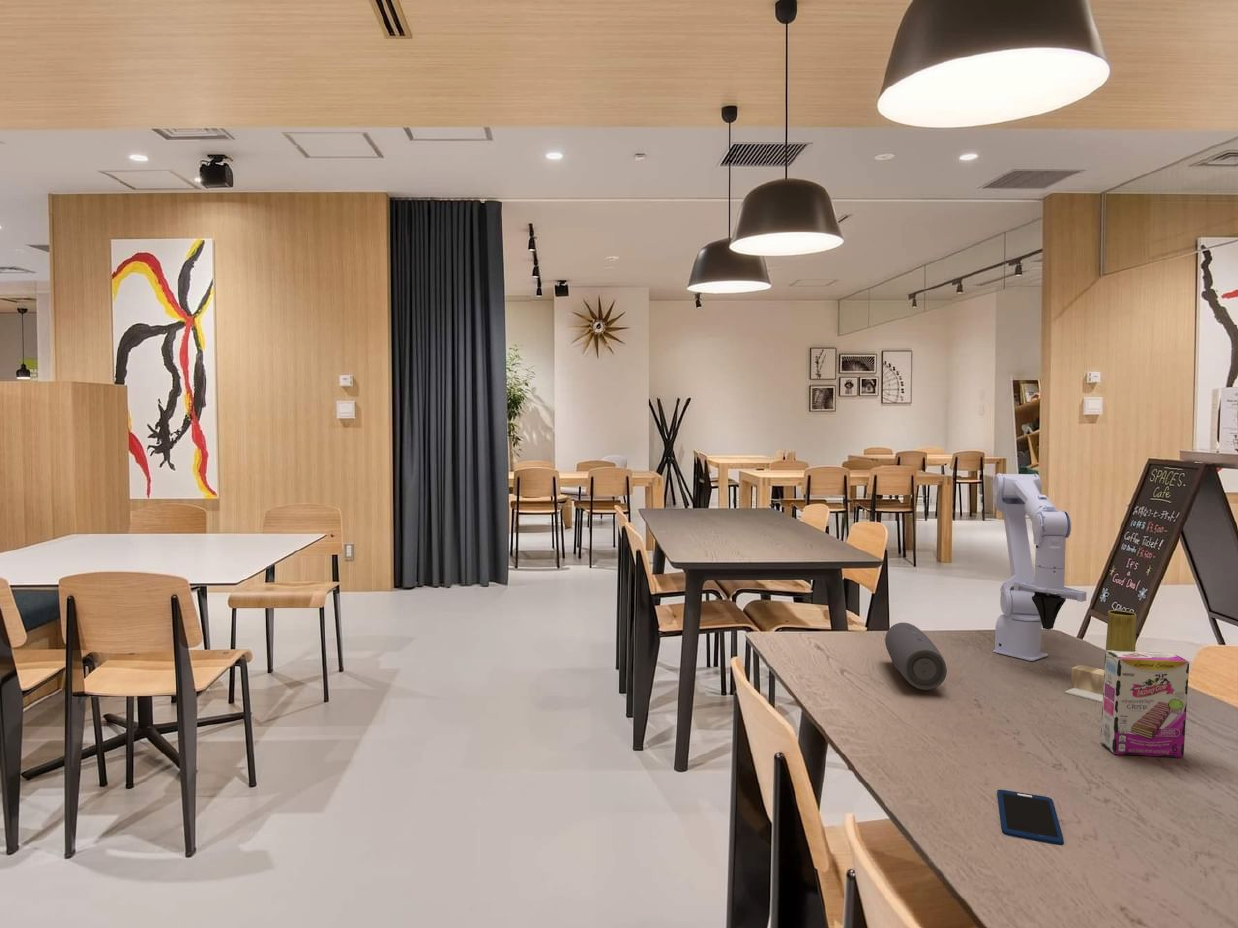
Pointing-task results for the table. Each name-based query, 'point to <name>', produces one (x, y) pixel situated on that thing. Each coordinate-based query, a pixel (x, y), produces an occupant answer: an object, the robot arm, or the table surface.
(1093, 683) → the block
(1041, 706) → the table surface
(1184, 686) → the candy bar box
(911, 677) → the bluetooth speaker
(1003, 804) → the cell phone
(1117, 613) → the vase
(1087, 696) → the mat
